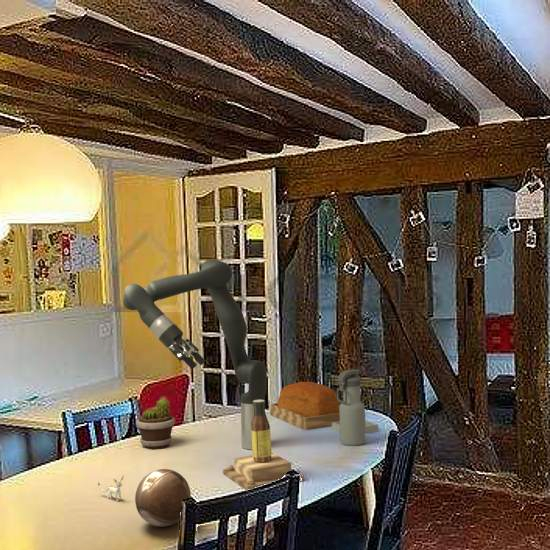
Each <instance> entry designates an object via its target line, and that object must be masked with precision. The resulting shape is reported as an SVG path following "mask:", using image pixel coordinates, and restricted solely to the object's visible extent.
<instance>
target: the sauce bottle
mask: <svg viewBox="0 0 550 550" xmlns="http://www.w3.org/2000/svg"><path fill="white" fill-rule="evenodd" d="M253 406H254V416H253V419H252V421H251V434H252V449H251V450H252V451H251V452H252V456H253V459H254V461H255V462H259V463H260V462H261V463H263V462H268V461H270V460H271V455H272V453H273V452H272V439H271V437H272V436H271V425H270V421H269V420H268V417H267V414H266V400H254V401H253Z"/></svg>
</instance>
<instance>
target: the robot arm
mask: <svg viewBox="0 0 550 550" xmlns="http://www.w3.org/2000/svg"><path fill="white" fill-rule="evenodd" d="M232 271H233V270H232V268H231V266H229V264H228V263H226V262H224V261H221V260H219V259H215V258H209V259H207V260H205V261H204V262H203V263H202V265H201V268H200V271H195V272H192V273H186V274H177V275H170V276H166V277H162V278H159V279H155V280H152V281H150V282H149V283H148V284H147V285H146V286H145V287H143V286H142V285H140V284H137V283H131V284H128V285H127V286H126V287H125V288H124V291H123V296H122V304H123V306H124V308H125V309H127V310H130V311H137V312H138V314H139V318H140V320H141V321H142V323H143V324H145V326H146V327H147V328H148V329H149V330H150V331H151V332H152V334H153V335H154V337H156V338H157V339H158V340H159V342H161V343H162V344H163V346H164V347H166V349H168V350H169V351H170V352H171V353H172V355H173V356H174V357H175V358H176V359H177V360H178V361H179V362H184V363H185V364H186V365H187V366H188V367H189V368H190V369H191V370H193V369H195V368H196V367H197V365H198V364H199V365H200V366H202V365H203V364H205V362H206V359H205V358H204V357H203V356H202V355H201V354H200V352H199V351H200V349H199V348H198V347H197V346H196V345H195V344H194V343H193V342H192V341H191V340H190V339H188V338H186V339H185V340H184V339H183V338H182V337H183V335H184V332H183V331H182V330H181V328H179V326H178V325H177V324H176V323H175V322H174V321H173V320H172V319H170V317H168V316H167V315H166V314H165V313H164V312H163V311H162V310H161V308H159V307H158V306H157V305H156V303H155V302H157V301H161V300H164V299H168V298H170V297H174V296H177V295H181V294H184V293H188V292H192V291H197V290H202V289H207V291H208V293H209V295H210V298H211V299H212V300H211V301H212V304H213V307H214V310H215V313H216V316H217V319H218V322H219V325H220V329H221V331H222V333H223V335H224V338H225V341H226V344H227V345H226V346H227V348H228V350H229V354H230V359H231V362H232V366H233V369H234V373H235V374H234V375H235V377H236V378H237V380H238V382H240V383H243V384H246V385H247V384H248V391H247V392H244V393H242V394H241V395H240V425H241V426H240V428H241V431H240V433H241V435H240V436H241V437H240V439H241V448H242V449H246V450H252V434H251V421H252V419H253V416H254V406H253V401H254V400H265V399H266V395H267V388H268V387H267V386H268V385H267V383H268V382H267V381H268V372H267V366H266V365H265V363H264V362H263V361H262V360H257V359H250V358H249V356H248V353H247V350H246V347H245V346H246V345H245V344H246V338H247V334H248V326H247V322H246V320H245V316H244V313H243V312H242V309H241V308H240V306H239V304H238V303H237V301H236V300H235V299H234V297H233V295H232V294H231V293H232V292H230V289H229V287H228V284H229V282H230V281H231V279H232V278H233V277H232V276H233V272H232ZM193 359H194V360H195V361H196V362H195V361H194V360H193ZM197 363H198V364H197ZM265 401H266V400H265Z"/></svg>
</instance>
